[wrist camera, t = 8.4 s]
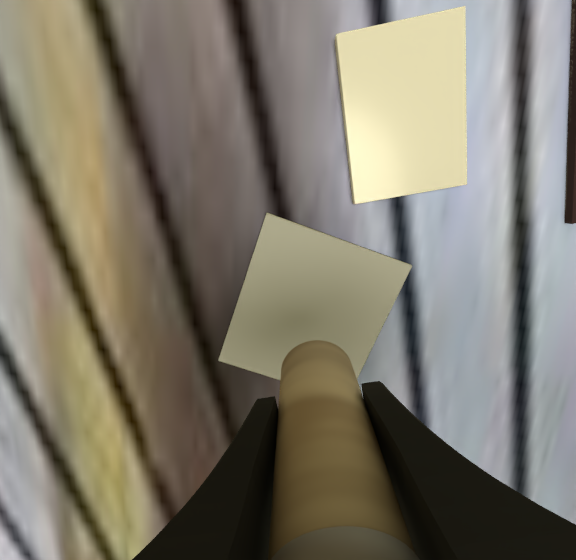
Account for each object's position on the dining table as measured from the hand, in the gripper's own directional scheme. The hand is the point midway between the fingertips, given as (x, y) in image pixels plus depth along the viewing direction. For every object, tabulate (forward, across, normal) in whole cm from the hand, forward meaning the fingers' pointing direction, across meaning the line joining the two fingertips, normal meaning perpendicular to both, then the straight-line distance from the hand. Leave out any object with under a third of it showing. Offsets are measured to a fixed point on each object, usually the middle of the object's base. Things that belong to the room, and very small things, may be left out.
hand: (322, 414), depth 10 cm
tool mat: (+9, 0, 0) cm, 9 cm away
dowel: (+2, 0, 0) cm, 2 cm away
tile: (+9, -6, -6) cm, 13 cm away
